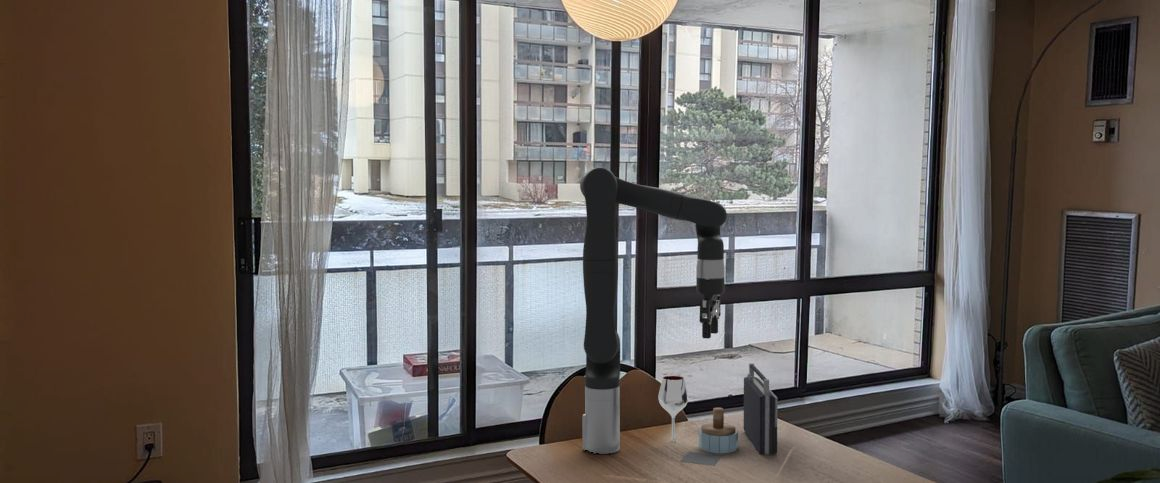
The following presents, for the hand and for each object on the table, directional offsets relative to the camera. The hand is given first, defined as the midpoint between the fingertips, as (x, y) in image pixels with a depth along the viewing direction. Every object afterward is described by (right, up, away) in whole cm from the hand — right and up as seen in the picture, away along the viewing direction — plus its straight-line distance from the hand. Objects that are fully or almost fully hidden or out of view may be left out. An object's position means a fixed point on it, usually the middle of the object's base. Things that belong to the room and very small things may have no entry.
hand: (710, 335), depth 230 cm
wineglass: (-10, -30, +4) cm, 32 cm away
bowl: (+2, -30, -2) cm, 30 cm away
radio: (+14, -30, +4) cm, 34 cm away
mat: (-4, -31, -12) cm, 33 cm away
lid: (+2, -25, -2) cm, 25 cm away
